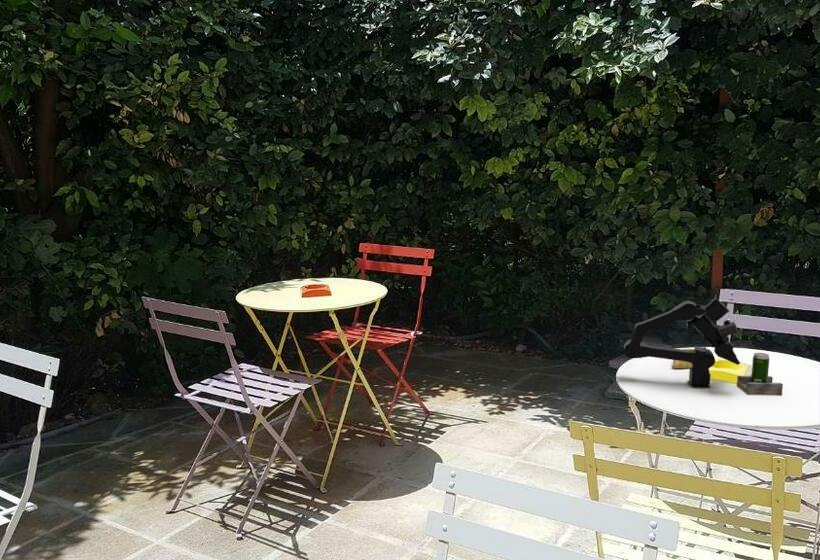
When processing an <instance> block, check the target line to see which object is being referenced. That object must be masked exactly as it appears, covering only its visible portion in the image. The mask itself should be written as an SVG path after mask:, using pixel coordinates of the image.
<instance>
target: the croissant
mask: <svg viewBox="0 0 820 560" xmlns="http://www.w3.org/2000/svg"><path fill="white" fill-rule="evenodd" d="M681 349H682V350H693V348H684V349H683V348H681ZM672 368H674V369H690V368H692V364H691V363H690V362H686V361H678V360H673V361H672Z"/></svg>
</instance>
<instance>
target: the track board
mask: <svg viewBox="0 0 820 560" xmlns="http://www.w3.org/2000/svg"><path fill="white" fill-rule="evenodd" d="M751 376H752V375H737V380H736V387H737V388H739V389H740V390H742V391H743V392H744V393H745V394H746V395H751V396H753V395H756V396H760V395H761V396H782V395H783V388H784V387H783V385H784V384H783V383H781V382H773V376H771V375H768V382H767V383H758V382H751Z"/></svg>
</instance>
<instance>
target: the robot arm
mask: <svg viewBox="0 0 820 560" xmlns="http://www.w3.org/2000/svg"><path fill="white" fill-rule="evenodd" d="M728 313H730V310H729V308H728V307H727V306H726V305H725V304H724V302H722V301H720V300H719V299H718V298H717V297H714V298H713V299H712V300H711V301H710V302H709V303H708V304H707V305H705V306H704V305H702V304H695V302H694V301H692V300H684V301H682V302H681V303H679V304H678V305H676V306H675V307H673V308H672V309H670V310H669V311H666V312H664V313H661V314H658V315H656V316H654V317H651V318H648V319H646V320H644V321H643V320H642V321H641V322H636V324H635V325H634V329H633V331H632V333H631V335H630V338H629V339H628V340H627V341H625V343H624V345H623V353H624V355H625V356H626V357H627V358H629V359H642V358H656V359H666V360H678V361H686V362H690V363H691V364H692V368H689V372H688V373H689V374H688V380H687V384H688V385H689V386H690V387H692V388H704V389H705V388H711V386H710V384H711V373H710V368H711V367H713V366H714V365H715V363H716V357H715V355H716V356H717V357H718V358H720V359H724V360H726V361H729V362H730V363H733V364H735V365H737V366H738V365H740V364H741V362H740V361H739V358H737V354H736V353H735V351H734V345H733V344H732V342H730V338H729V336H730V335H733V334H738V333H739V330H738V328H737V324H736V322H735V321H729V320H728V319H726V320H723V324H722V325H721V326H718V325H717V324H714V323H713V322H712V321H717V322H718V321H719V320H721V319H722V318H724V317H725V316H726V315H728ZM678 321H686V328H687V329H690V328H691V327H694V328H695V329H696V331H697V332H698V333H700V335H701V336H702V338H703V339H704V340H706V341H707V342H708V343H709V344H710V346H711V347H712V348H713V351H714V353H713V352H712V351H711V350H710V349H709V348H707V347H706V346H702V347H701V346H697V345H694V346H693V348H694V349H693V348H692V349H693V350H682V349H683V348H681V349H680V348H673V347H664V346H656V345H650V344H648V343H645V342H643V341H642V340H643V337H644V335H645V334H646V333H648V332H651V331H653V330H656V329H659V328H661V327H664V326H666V325H668V324H671V323H674V322H678ZM714 354H715V355H714Z"/></svg>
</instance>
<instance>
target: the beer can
mask: <svg viewBox="0 0 820 560" xmlns="http://www.w3.org/2000/svg"><path fill="white" fill-rule="evenodd" d="M769 367H770V355H769V354H767V353H764V352H754V353H753V356H752V363H751V375H750V376H751V382H758V383H767V382H768V376H769V370H770V369H769Z"/></svg>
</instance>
